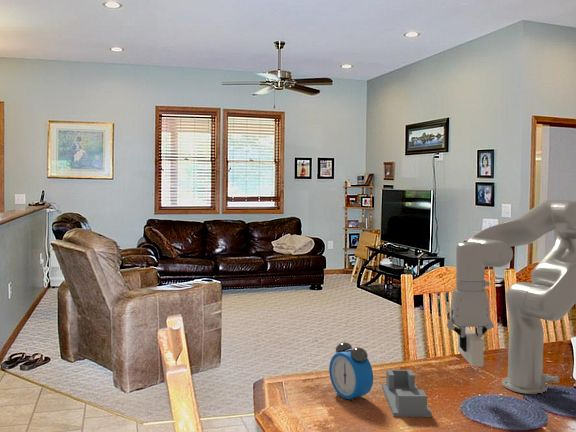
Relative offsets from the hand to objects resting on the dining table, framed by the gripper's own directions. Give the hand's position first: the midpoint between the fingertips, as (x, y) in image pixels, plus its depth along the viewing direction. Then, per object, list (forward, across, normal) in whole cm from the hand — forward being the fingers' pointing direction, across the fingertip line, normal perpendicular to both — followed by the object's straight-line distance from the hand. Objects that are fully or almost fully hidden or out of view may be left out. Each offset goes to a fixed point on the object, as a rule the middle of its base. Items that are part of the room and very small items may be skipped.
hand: (470, 349), depth 156 cm
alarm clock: (+14, +34, -1) cm, 37 cm away
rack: (+14, +19, +2) cm, 23 cm away
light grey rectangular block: (+2, 0, 0) cm, 2 cm away
